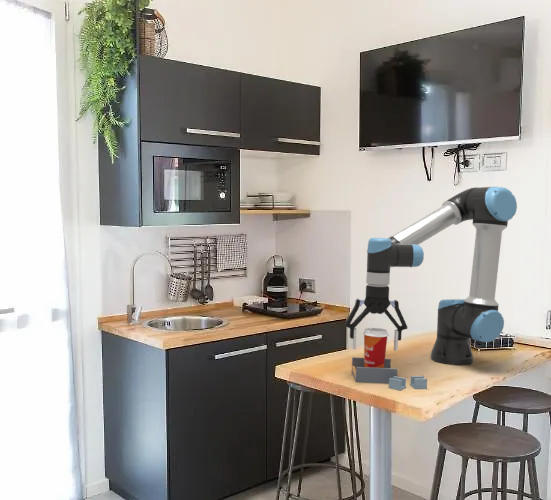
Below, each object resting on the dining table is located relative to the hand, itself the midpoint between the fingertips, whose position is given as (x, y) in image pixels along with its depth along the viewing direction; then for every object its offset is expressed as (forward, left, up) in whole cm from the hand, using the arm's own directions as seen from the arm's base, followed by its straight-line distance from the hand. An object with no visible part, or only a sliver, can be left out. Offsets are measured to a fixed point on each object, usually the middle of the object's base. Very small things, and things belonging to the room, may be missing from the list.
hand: (374, 349), depth 199 cm
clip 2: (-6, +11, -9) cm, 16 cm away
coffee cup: (0, 0, -9) cm, 9 cm away
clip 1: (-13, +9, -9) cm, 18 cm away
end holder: (0, 0, -9) cm, 9 cm away
